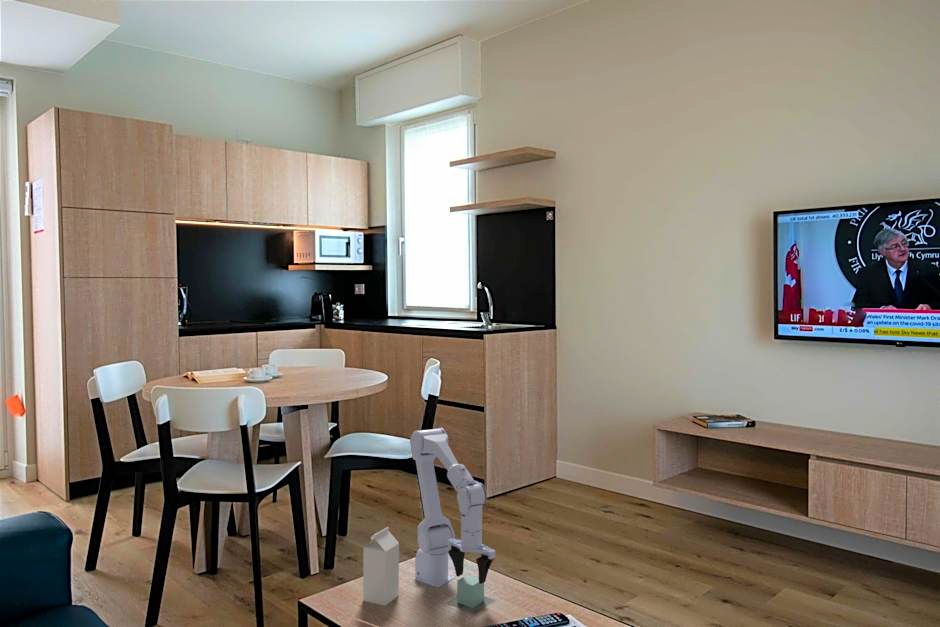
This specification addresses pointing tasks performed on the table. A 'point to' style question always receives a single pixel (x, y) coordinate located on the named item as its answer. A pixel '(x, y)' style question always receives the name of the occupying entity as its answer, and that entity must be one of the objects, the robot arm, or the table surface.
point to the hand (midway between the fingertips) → (470, 578)
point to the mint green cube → (470, 591)
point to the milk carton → (381, 568)
